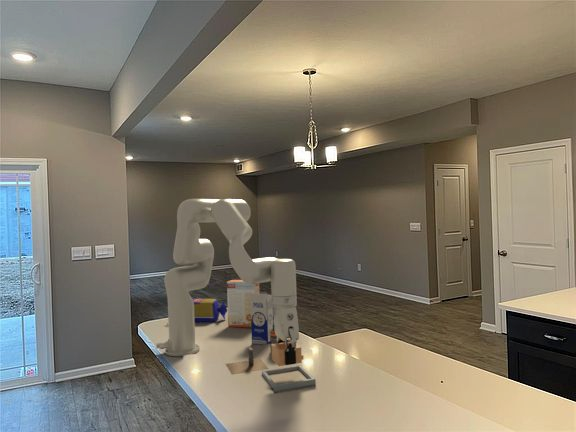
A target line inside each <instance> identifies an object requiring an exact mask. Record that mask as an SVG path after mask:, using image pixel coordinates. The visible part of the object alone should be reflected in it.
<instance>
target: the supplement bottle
mask: <svg viewBox="0 0 576 432" xmlns="http://www.w3.org/2000/svg"><path fill="white" fill-rule="evenodd" d="M276 339H277V336H276V334H275V331H274V323H273V329H272V330H271V331H270V344H269V345H270V346H271V344H276V343H277V342H276ZM286 339H287V340H288V338H286ZM270 354H271V355H272V349H271V348H270Z"/></svg>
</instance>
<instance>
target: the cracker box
mask: <svg viewBox="0 0 576 432" xmlns="http://www.w3.org/2000/svg"><path fill="white" fill-rule="evenodd" d="M226 291H227V293H226V295H227V297H226V298H227V325H228V327H229V326H230V328H231V327H232V328H251V296H250V294H260V292H261V291H260V283H258V284H253V285H251V284H247V283H245V282H244V281H242V280H241V279H231V280H228V281H226Z"/></svg>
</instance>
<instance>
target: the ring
mask: <svg viewBox="0 0 576 432" xmlns="http://www.w3.org/2000/svg"><path fill="white" fill-rule="evenodd" d="M289 343H291V342H288V346H289ZM271 349H272V354H271V360H272V362H274V363H275V364H276V365H277V366H278V367H283V366H287V365H286V364H285V351H286V348H285V342H283V343H276V344H271V345H270V350H271ZM302 360H304V354H303V353H302V347H301V346H300V345H299V344H297V343H296V364H302V362H303V361H302Z"/></svg>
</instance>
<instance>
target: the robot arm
mask: <svg viewBox="0 0 576 432" xmlns="http://www.w3.org/2000/svg"><path fill="white" fill-rule="evenodd" d="M251 211H252V210H251V207H250V205H249V204H248V202H246V200H243V199H239V198H238V199H237V198H236V199H235V198H233V199H232V198H224V199H223V198H219V199H217V198H188V199H186V200H183V201H182V202H181V203H180V204H179V206H178V208H177V212H176V213H177V214H176V221H177V222H176V223H177V227H176V234H175V238H174V239H175V240H174V246H173V252H172V258H173V262H174V263H175V264H177V265H179V266H177V267H173V268H171V269H169V270H168V271H167V272H166V273H165V275H164V278H163V279H164V286H165V291H166V292H165V293H166V297H167V309H168V310H167V313H168V315H167V316H168V318H167V319H168V338H167V340H165V341H164V342H156V343H155V345H156V347H155V348H156V349H160V350H164V354H165V355H167V356H170V357H183V356H187V355H188V356H190V355H193V354H195V353H197V352H198V353H199V351H200V345H199V344H197V343H196V331H195V330H196V327H195V325H196V322H195V320H194V302H193V299H194V298H193V297H192V296H191V295H190V293H189V292H191V291H192V292H193V291H196V290H202V289H204V288H206V287H207V286H208V284H209V282H210V279H211V275H212V268H213V263H214V259H215V258H214V257H215V249H214V246H213V243H212V242H211V241H210V240H209V239H207V238H200V236H201V227H200V224H199V223H215V224H216V225H217V226H218V228H219V229H220V230H221V232H222V234H223V235H224V237H225V238H226V240H227V241H228V242H229V247H228V258H229V262H230V265H231V266H232V268H233V270H234V272H235V273H236V274H237V276H238V277H239V278H240V280H242V281H244V282H245V283H247V284H251V285H253V284H258V283H259V284H262V283H269V282H270V287H271V290H270V291H271V294H270V295H272V306H273V308H274V331H275V334H276V336H277V339H276V342H277V343H283V342H285V348H286V351H285V364H286V365H285V366H292V365H295V364H296V344H297V342H298V340H299V339H300V332H299V331H300V330H299V329H300V327H299V317H298V312H297V311H298V310H297V305H298V301H297V300H298V299H297V298H298V297H297V272H296V271H297V270H296V269H297V268H296V267H297V266H296V261H295V260H294V259H291V258H277V257H273V256H272V257H271V256H268V257H260V258H259V257H258V258H251V257H250V255H249V254H248V252H247V251H246V250H245V247H244V245H245V244H246V243H247V242H249V240H250V239H251V237H252V235H253V228H252V227H251V226H250V224H249V223H248V221H249V220H250V219H251V218H250V217H251ZM286 338H287V339H286ZM288 342H291V343H289V346H288Z"/></svg>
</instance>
